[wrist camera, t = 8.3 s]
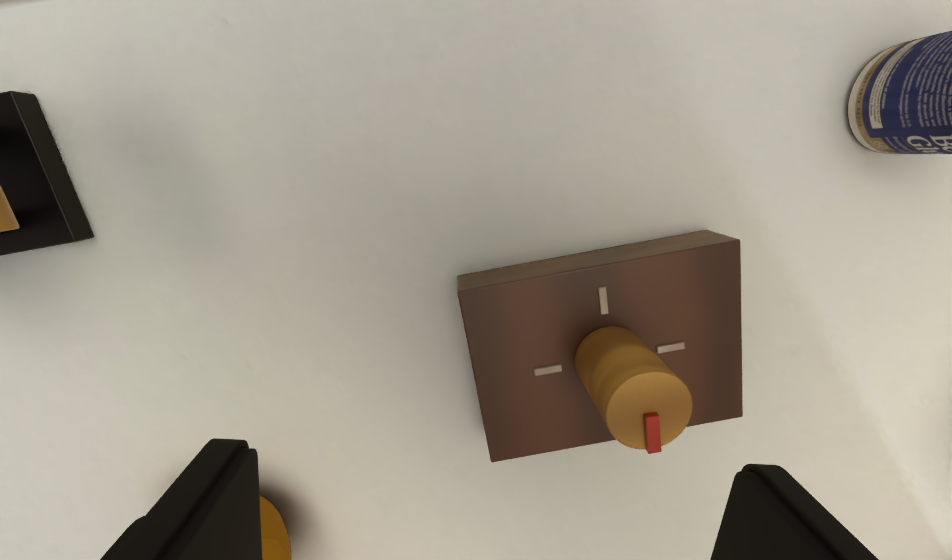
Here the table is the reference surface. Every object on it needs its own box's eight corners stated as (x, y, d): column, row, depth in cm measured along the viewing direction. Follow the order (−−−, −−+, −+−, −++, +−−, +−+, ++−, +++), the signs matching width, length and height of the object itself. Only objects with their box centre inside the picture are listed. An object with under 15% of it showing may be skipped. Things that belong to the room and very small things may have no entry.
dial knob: (571, 332, 23) (605, 384, 18) (641, 320, 23) (695, 368, 18) (578, 395, 24) (612, 461, 19) (645, 383, 24) (698, 446, 19)
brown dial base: (707, 229, 25) (743, 239, 22) (712, 389, 27) (745, 418, 24) (456, 275, 25) (457, 292, 22) (487, 430, 27) (491, 465, 24)
